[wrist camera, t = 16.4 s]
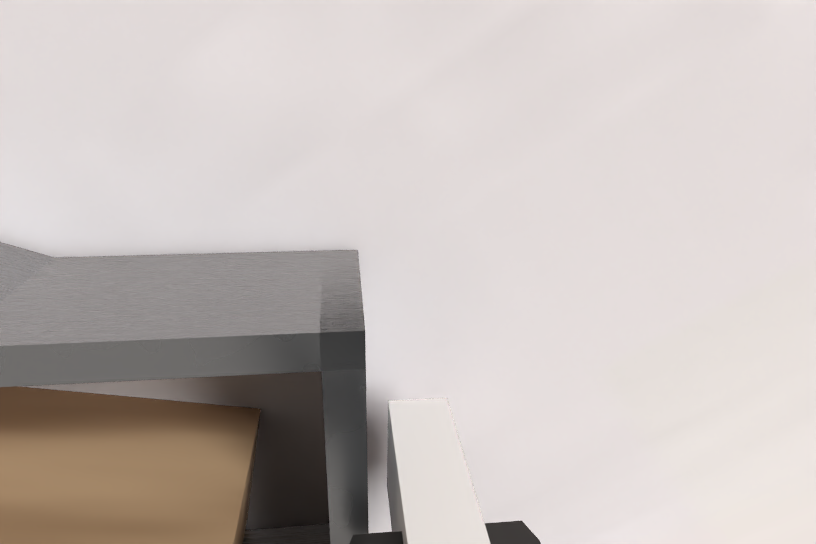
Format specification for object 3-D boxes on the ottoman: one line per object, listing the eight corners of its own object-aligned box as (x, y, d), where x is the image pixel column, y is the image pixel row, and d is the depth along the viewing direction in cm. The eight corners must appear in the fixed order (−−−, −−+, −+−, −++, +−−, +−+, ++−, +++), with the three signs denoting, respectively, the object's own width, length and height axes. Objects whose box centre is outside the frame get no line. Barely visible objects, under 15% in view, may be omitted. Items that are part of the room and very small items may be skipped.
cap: (-108, 216, 12) (-299, 296, 8) (356, 207, 13) (363, 275, 10) (28, 594, 17) (-58, 752, 13) (364, 564, 18) (371, 702, 14)
